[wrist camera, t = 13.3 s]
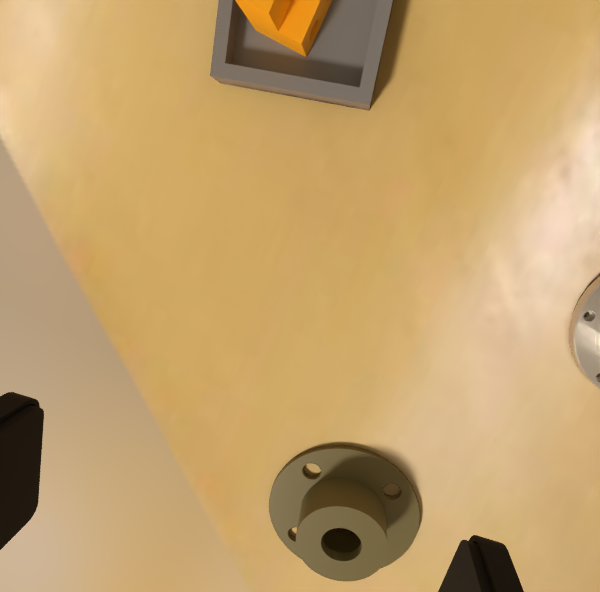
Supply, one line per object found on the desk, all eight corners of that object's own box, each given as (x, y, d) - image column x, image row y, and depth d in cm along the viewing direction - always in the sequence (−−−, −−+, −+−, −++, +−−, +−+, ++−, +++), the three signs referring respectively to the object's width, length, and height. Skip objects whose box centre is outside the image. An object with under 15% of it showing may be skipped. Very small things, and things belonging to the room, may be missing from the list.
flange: (318, 627, 42) (456, 575, 38) (230, 515, 39) (368, 447, 36) (321, 584, 46) (446, 533, 42) (243, 481, 44) (366, 418, 40)
